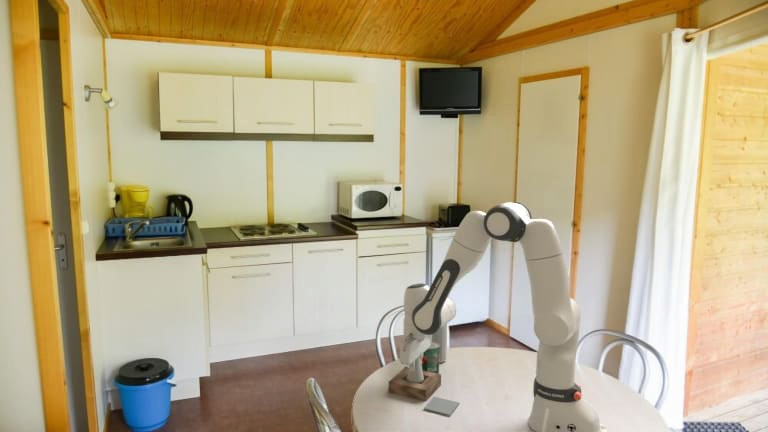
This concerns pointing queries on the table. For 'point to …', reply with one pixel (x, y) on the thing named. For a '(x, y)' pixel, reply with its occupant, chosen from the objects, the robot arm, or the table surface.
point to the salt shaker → (416, 372)
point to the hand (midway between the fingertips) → (415, 367)
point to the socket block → (415, 385)
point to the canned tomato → (431, 358)
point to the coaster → (441, 406)
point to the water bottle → (441, 342)
